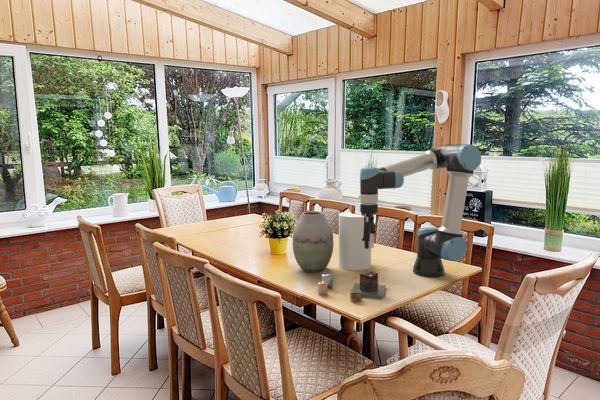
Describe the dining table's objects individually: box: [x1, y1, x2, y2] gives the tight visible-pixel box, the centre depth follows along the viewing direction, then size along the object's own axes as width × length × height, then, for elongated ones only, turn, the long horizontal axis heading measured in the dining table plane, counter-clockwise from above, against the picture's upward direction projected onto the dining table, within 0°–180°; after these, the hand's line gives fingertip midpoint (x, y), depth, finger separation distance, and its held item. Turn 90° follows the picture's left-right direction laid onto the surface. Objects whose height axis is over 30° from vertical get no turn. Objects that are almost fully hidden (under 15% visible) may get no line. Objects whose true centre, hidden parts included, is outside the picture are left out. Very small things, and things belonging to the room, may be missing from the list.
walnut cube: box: [349, 289, 362, 303], centre depth 177 cm, size 4×4×4 cm
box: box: [359, 270, 379, 292], centre depth 186 cm, size 6×6×7 cm
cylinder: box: [338, 211, 372, 271], centre depth 225 cm, size 17×17×28 cm
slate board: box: [351, 282, 387, 300], centre depth 187 cm, size 14×14×1 cm
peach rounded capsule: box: [317, 280, 328, 296], centre depth 185 cm, size 4×4×5 cm
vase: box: [292, 210, 335, 274], centre depth 219 cm, size 21×21×30 cm
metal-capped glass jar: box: [321, 272, 334, 290], centre depth 194 cm, size 5×5×6 cm
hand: (368, 251), depth 184 cm, fingers open, 13 cm apart
